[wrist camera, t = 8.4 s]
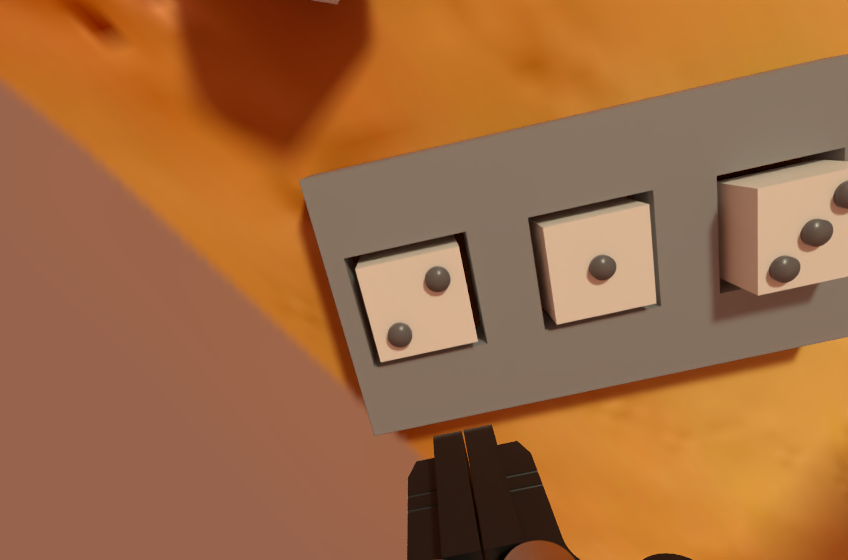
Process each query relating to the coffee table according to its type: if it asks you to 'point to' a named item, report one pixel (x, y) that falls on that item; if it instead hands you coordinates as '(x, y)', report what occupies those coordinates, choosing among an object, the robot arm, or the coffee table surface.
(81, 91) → the coffee table surface
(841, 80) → the button board
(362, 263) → the two pip tile
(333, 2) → the die
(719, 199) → the three pip tile
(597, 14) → the coffee table surface
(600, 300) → the one pip tile
